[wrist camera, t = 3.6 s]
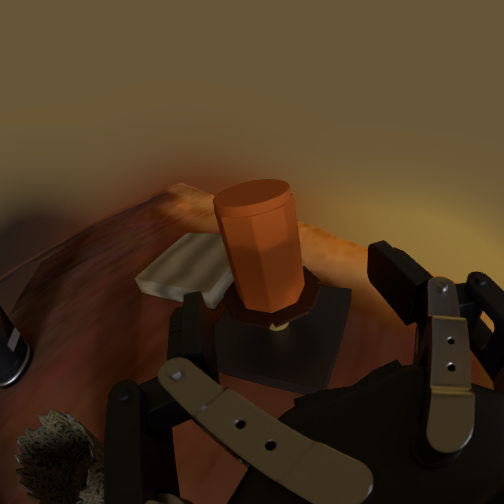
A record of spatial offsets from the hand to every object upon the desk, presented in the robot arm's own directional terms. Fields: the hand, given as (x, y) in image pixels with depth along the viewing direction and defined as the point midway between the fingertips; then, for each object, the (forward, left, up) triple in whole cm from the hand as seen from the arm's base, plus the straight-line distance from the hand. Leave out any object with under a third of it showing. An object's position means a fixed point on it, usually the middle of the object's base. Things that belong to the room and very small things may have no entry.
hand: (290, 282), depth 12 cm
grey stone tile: (-20, +15, -12) cm, 28 cm away
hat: (-5, +7, -7) cm, 11 cm away
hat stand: (-5, +7, -12) cm, 15 cm away
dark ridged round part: (-10, -14, -13) cm, 21 cm away
